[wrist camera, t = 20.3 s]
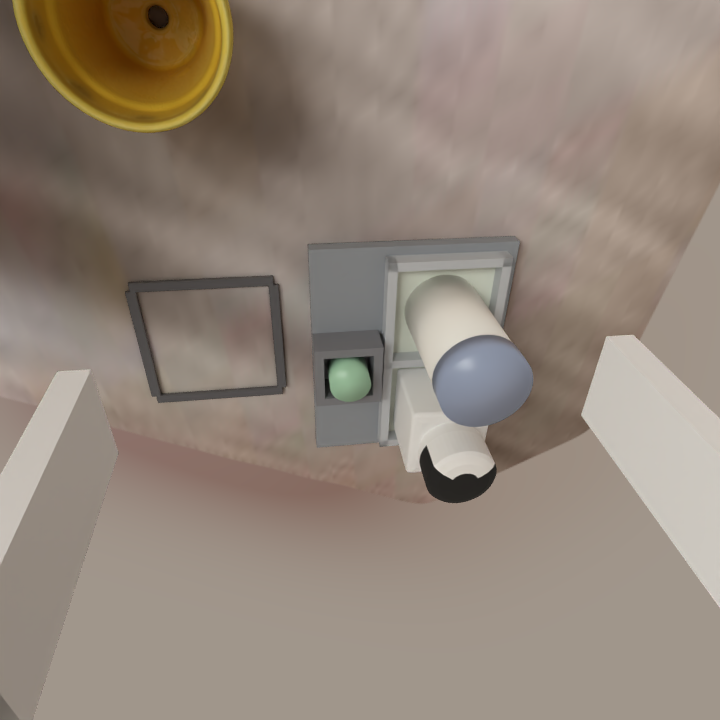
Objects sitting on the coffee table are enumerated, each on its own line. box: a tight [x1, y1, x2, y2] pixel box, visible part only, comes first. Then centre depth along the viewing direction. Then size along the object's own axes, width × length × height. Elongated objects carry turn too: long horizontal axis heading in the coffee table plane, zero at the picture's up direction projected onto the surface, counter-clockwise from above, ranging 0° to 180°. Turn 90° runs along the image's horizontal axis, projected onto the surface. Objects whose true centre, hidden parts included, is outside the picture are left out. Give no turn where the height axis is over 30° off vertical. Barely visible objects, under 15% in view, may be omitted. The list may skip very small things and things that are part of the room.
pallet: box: [308, 236, 520, 447], centre depth 51 cm, size 18×22×4 cm
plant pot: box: [12, 0, 233, 133], centre depth 31 cm, size 10×10×10 cm
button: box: [327, 357, 371, 402], centre depth 49 cm, size 4×4×3 cm
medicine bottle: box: [393, 368, 496, 503], centre depth 50 cm, size 7×7×12 cm
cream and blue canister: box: [404, 275, 533, 427], centre depth 44 cm, size 7×7×12 cm
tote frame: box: [125, 276, 286, 403], centre depth 49 cm, size 13×13×1 cm
